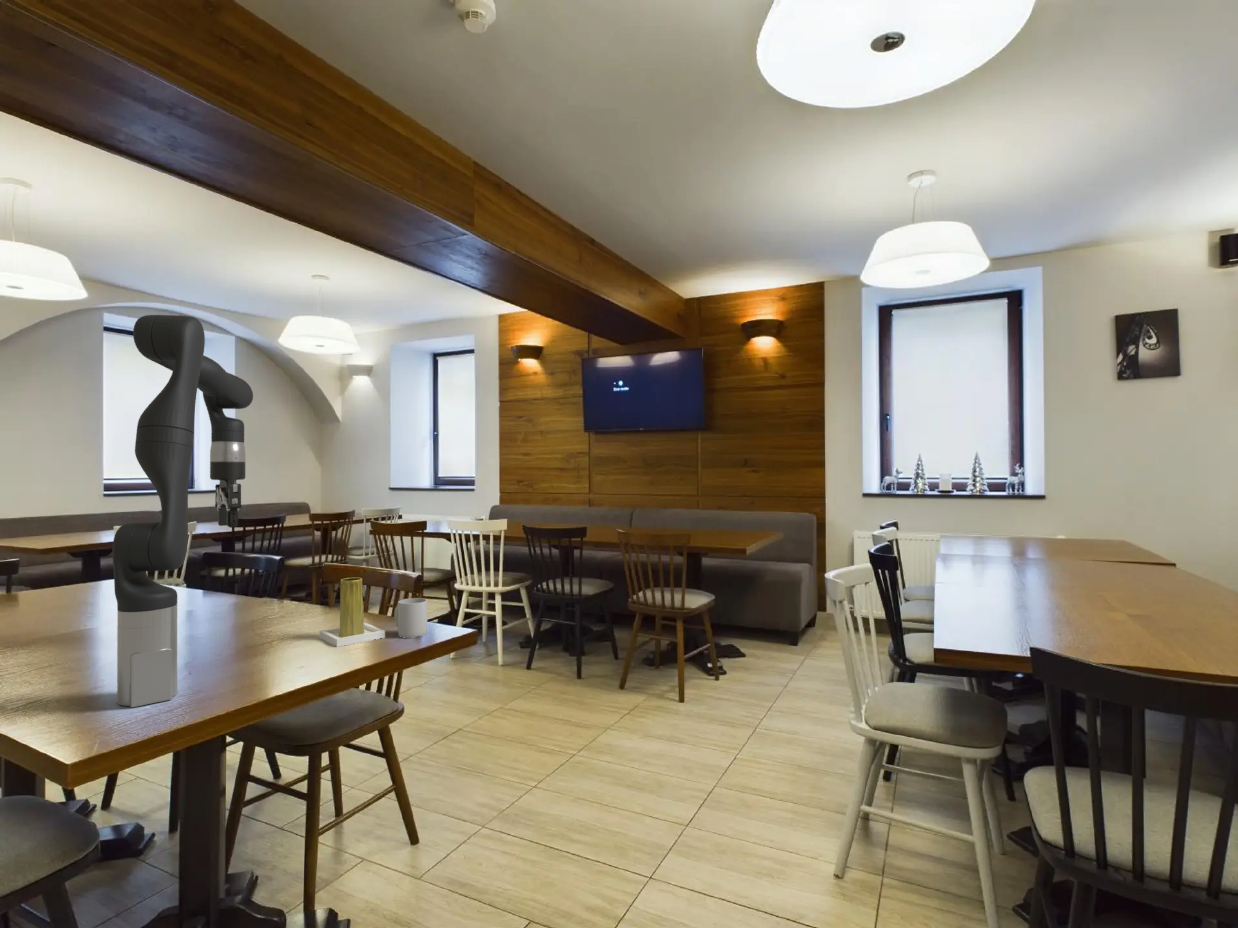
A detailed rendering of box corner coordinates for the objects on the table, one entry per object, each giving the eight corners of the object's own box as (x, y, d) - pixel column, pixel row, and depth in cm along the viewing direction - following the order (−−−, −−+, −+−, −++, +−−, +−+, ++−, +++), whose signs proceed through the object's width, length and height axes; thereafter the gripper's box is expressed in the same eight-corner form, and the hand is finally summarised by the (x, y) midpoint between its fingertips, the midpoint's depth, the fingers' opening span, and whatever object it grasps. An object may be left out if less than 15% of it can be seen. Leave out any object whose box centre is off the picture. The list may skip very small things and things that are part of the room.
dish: (385, 637, 166) (385, 630, 166) (337, 646, 157) (337, 639, 157) (366, 629, 174) (366, 622, 174) (319, 637, 166) (319, 630, 166)
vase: (342, 638, 162) (342, 581, 162) (335, 634, 166) (335, 578, 166) (367, 634, 165) (367, 579, 166) (359, 630, 170) (359, 576, 170)
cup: (412, 640, 164) (411, 604, 164) (384, 635, 168) (384, 600, 168) (433, 633, 170) (433, 599, 170) (406, 629, 175) (406, 596, 175)
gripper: (253, 459, 158) (252, 526, 157) (237, 461, 168) (237, 524, 168) (217, 459, 153) (217, 528, 152) (203, 461, 163) (203, 525, 162)
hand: (227, 526), depth 160 cm, fingers open, 8 cm apart
